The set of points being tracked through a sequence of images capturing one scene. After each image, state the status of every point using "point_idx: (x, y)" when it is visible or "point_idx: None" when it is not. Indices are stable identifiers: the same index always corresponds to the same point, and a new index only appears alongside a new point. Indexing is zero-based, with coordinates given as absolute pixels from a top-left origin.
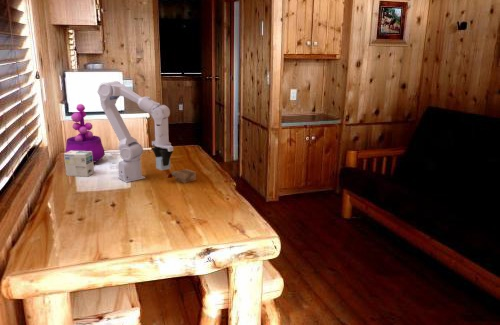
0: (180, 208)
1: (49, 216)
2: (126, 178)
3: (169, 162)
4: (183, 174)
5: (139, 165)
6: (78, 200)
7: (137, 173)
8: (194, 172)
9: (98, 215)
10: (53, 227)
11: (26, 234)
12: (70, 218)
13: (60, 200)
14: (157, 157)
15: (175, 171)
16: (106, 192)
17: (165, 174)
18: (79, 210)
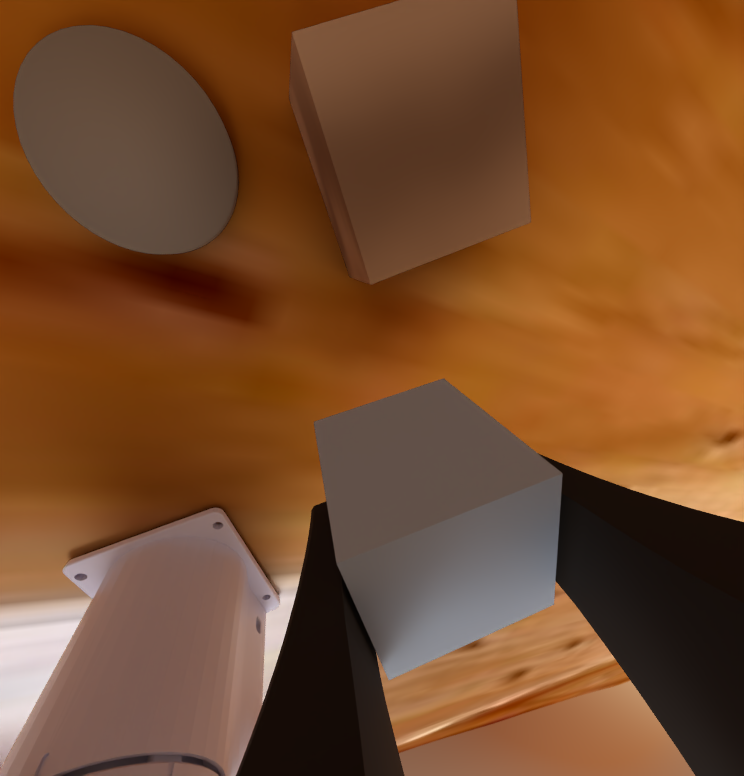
0: (739, 391)
1: (508, 702)
2: (262, 623)
3: (495, 431)
4: (514, 228)
5: (195, 665)
6: (432, 690)
7: (234, 597)
8: (513, 9)
9: (582, 616)
10: (574, 674)
11: (569, 698)
12: (552, 663)
13: (403, 727)
14: (409, 657)
15: (58, 175)
16: None
17: (114, 323)
18: (516, 663)
